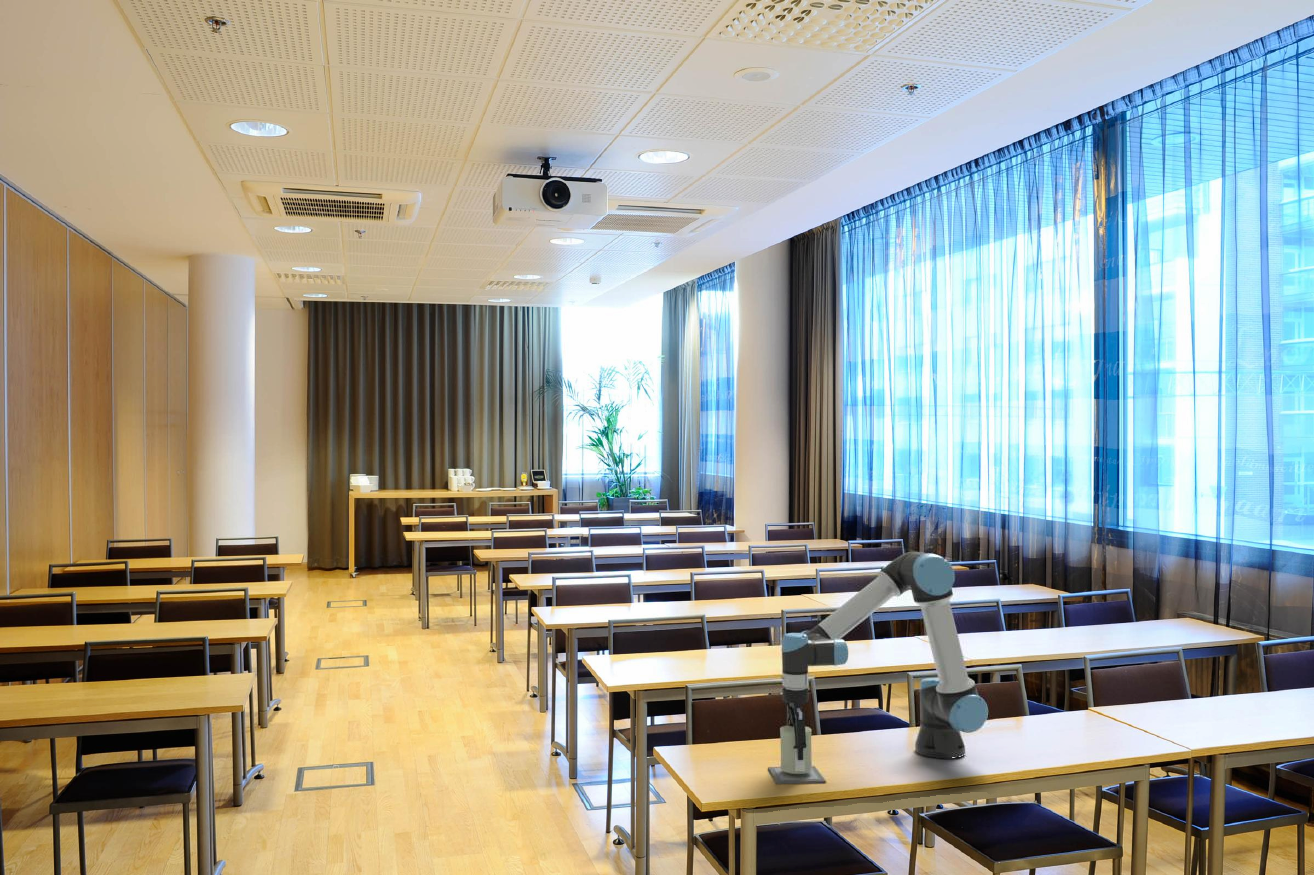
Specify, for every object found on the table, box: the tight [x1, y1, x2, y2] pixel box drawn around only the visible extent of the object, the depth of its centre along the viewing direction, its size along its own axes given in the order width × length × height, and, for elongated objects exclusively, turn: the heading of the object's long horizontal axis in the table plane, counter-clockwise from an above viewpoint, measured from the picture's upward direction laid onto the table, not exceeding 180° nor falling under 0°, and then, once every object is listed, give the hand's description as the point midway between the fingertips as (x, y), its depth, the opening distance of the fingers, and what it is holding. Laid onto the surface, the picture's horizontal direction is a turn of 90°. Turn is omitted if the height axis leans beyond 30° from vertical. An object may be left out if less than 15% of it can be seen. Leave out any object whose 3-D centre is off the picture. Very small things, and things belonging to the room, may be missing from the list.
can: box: [779, 724, 813, 774], centre depth 273 cm, size 9×9×12 cm
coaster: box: [767, 765, 827, 785], centre depth 273 cm, size 14×14×1 cm
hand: (796, 765), depth 273 cm, fingers closed on can, 9 cm apart
